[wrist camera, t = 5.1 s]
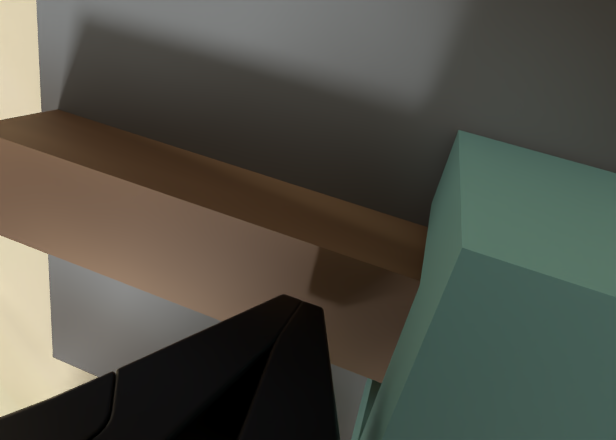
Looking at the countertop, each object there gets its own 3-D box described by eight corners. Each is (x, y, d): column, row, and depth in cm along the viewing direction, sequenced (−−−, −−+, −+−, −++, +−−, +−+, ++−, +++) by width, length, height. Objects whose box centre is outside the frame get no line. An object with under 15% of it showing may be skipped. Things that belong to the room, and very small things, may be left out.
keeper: (610, 480, 11) (740, 851, 6) (365, 384, 12) (302, 629, 7) (811, 227, 8) (1412, 554, 3) (458, 129, 9) (462, 247, 4)
